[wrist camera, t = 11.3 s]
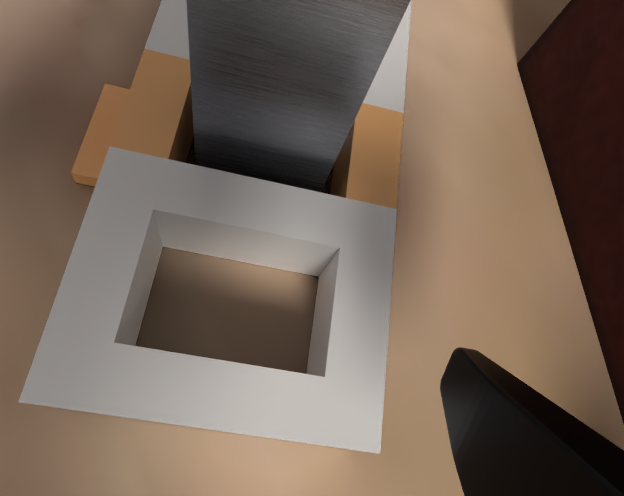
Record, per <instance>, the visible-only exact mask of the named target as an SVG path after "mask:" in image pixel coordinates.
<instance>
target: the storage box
mask: <svg viewBox="0 0 624 496" xmlns="http://www.w3.org/2000/svg"><path fill="white" fill-rule="evenodd" d="M517 66H518V71H519V74H520V77H521V81H522V84H523V87H524V91H525V94H526V97H527V101H528V104H529V107H530V111H531V114H532V118H533V121H534V124H535V128H536V131H537V134H538V138H539V141H540V144H541V148H542V151H543V154H544V158H545V161H546V165H547V168H548V171H549V175H550V178H551V181H552V185H553V188H554V191H555V195H556V198H557V201H558V205H559V208H560V212H561V215H562V218H563V222H564V225H565V228H566V232H567V235H568V238H569V242H570V245H571V248H572V252H573V255H574V259H575V262H576V265H577V269H578V272H579V275H580V279H581V282H582V285H583V289H584V292H585V295H586V299H587V302H588V306H589V309H590V312H591V316H592V319H593V322H594V326H595V329H596V332H597V336H598V339H599V342H600V346H601V349H602V353H603V356H604V359H605V363H606V366H607V369H608V373H609V376H610V379H611V383H612V386H613V389H614V393H615V396H616V400H617V403H618V406H619V410H620V413H621V416H622V420H623V423H624V0H571V1H570V2H569V3H568V4H567V6H566V7H565V8H564V9H563V10H562V12H561V13H560V14H559V15H558V16H557V17H556V19H555V20H554V21H553V22H552V23H551V25H550V26H549V27H548V28H547V29H546V31H545V32H544V33H543V34H542V35H541V36H540V38H539V39H538V40H537V41H536V42H535V44H534V45H533V46H532V47H531V48H530V50H529V51H528V52H527V53H526V54H525V55H524V57H523V58H522V59H521V60H520V61H519V63H518V64H517Z"/></svg>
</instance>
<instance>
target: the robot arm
mask: <svg viewBox="0 0 624 496" xmlns="http://www.w3.org/2000/svg"><path fill="white" fill-rule="evenodd" d="M440 391H441V397H442V402H443V407H444V413H445V418H446V423H447V428H448V434H449V439H450V444H451V449H452V454H453V458H454V462H455V465H456V469H457V472H458V476H459V479H460V482H461V486H462V489H463V492H464V496H624V451H623V450H622V449H620V448H619V447H618V446H616V445H615V444H613V443H612V442H610V441H609V440H607V439H606V438H604V437H603V436H601V435H600V434H598V433H597V432H596V431H594V430H593V429H591V428H590V427H588V426H587V425H585V424H584V423H582V422H581V421H579V420H578V419H577V418H575V417H574V416H572V415H571V414H569V413H568V412H566V411H565V410H563V409H562V408H560V407H559V406H558V405H556V404H555V403H553V402H552V401H550V400H549V399H547V398H546V397H544V396H543V395H541V394H540V393H539V392H537V391H536V390H534V389H533V388H531V387H530V386H528V385H527V384H525V383H524V382H522V381H521V380H519V379H518V378H517V377H515V376H514V375H512V374H511V373H509V372H508V371H506V370H505V369H503V368H502V367H500V366H499V365H498V364H496V363H495V362H493V361H492V360H490V359H489V358H487V357H486V356H484V355H483V354H481V353H480V352H478V351H477V350H473V349H467V348H462V347H459V348H457V349H455V350H454V351H453V353H452V355H451V358H450V360H449V362H448V365H447V367H446V369H445V372H444V374H443V377H442V379H441V384H440Z"/></svg>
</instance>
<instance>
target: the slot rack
mask: <svg viewBox="0 0 624 496" xmlns="http://www.w3.org/2000/svg"><path fill="white" fill-rule="evenodd" d="M410 13H411V1H410V3H409V5H408V7H407V9H406V11H405V13H404V16H403V18H402V20H401V22H400V24H399V26H398V28H397V31H396V33H395V35H394V37H393V39H392V41H391V43H390V45H389V48H388V50H387V52H386V54H385V56H384V58H383V60H382V63H381V65H380V67H379V69H378V71H377V73H376V75H375V77H374V80H373V82H372V84H371V86H370V88H369V90H368V92H367V95H366V97H365V99H364V101H363V103H362V105H361V107H360V110H359V112H358V114H357V116H356V118H355V120H354V122H353V124H352V127H351V129H350V131H349V133H348V135H347V137H346V139H345V142H344V144H343V146H342V148H341V150H340V152H339V154H338V156H337V159H336V161H335V163H334V168H333V175H332V183H331V190H330V194H326V193H321V192H316V191H312V190H307V189H303V188H298V187H294V186H289V185H284V184H280V183H275V182H271V181H266V180H262V179H257V178H252V177H248V176H243V175H239V174H234V173H230V172H225V171H220V170H216V169H211V168H207V167H202V166H198V165H193V164H188V163H186V161H187V158H188V154H189V150H190V147H191V143H192V140H193V136H194V130H193V112H192V93H191V75H190V57H189V38H188V20H187V2H186V0H161V3H160V6H159V9H158V12H157V14H156V17H155V20H154V23H153V26H152V28H151V31H150V34H149V37H148V40H147V42H146V45H145V48H144V51H143V54H142V56H141V59H140V62H139V65H138V68H137V70H136V73H135V76H134V79H133V82H132V84H131V87H130V89H126V88H122V87H118V86H114V85H109V84H105V85H104V87H103V90H102V92H101V95H100V98H99V100H98V103H97V105H96V108H95V110H94V113H93V116H92V118H91V121H90V123H89V126H88V129H87V131H86V134H85V136H84V139H83V142H82V144H81V147H80V149H79V152H78V155H77V157H76V160H75V162H74V165H73V168H72V170H71V175H72V177H73V178H74V180H75V182H76V183H80V184H85V185H90V186H95V188H94V191H93V194H92V197H91V199H90V202H89V205H88V208H87V211H86V213H85V216H84V219H83V222H82V225H81V227H80V230H79V233H78V236H77V239H76V241H75V244H74V247H73V250H72V253H71V255H70V258H69V261H68V264H67V267H66V270H65V272H64V275H63V278H62V281H61V284H60V286H59V289H58V292H57V295H56V298H55V300H54V303H53V306H52V309H51V312H50V314H49V317H48V320H47V323H46V326H45V328H44V331H43V334H42V337H41V340H40V342H39V345H38V348H37V351H36V354H35V356H34V359H33V362H32V365H31V368H30V370H29V373H28V376H27V379H26V382H25V384H24V387H23V390H22V393H21V396H20V398H19V401H18V402H20V403H27V404H34V405H41V406H48V407H55V408H62V409H69V410H76V411H83V412H90V413H97V414H104V415H111V416H118V417H125V418H132V419H139V420H146V421H153V422H160V423H167V424H174V425H181V426H188V427H195V428H202V429H210V430H217V431H224V432H231V433H238V434H245V435H252V436H259V437H266V438H273V439H280V440H287V441H294V442H301V443H308V444H315V445H322V446H329V447H336V448H343V449H350V450H357V451H364V452H371V453H378V454H380V449H381V434H382V420H383V405H384V390H385V376H386V361H387V347H388V332H389V318H390V303H391V289H392V274H393V260H394V245H395V231H396V216H397V202H398V187H399V172H400V158H401V143H402V129H403V114H404V100H405V85H406V71H407V56H408V42H409V27H410ZM163 247H168V248H173V249H178V250H183V251H188V252H193V253H199V254H204V255H209V256H214V257H219V258H225V259H230V260H235V261H240V262H245V263H250V264H256V265H261V266H266V267H271V268H276V269H281V270H287V271H292V272H297V273H302V274H307V275H313V276H318V277H319V281H318V288H317V296H316V303H315V311H314V318H313V326H312V333H311V341H310V348H309V356H308V363H307V371H306V374H304V373H298V372H291V371H285V370H279V369H273V368H267V367H261V366H255V365H249V364H242V363H236V362H230V361H224V360H218V359H212V358H206V357H200V356H193V355H187V354H181V353H175V352H169V351H163V350H157V349H151V348H144V347H138V346H136V342H137V338H138V335H139V331H140V327H141V324H142V320H143V317H144V313H145V309H146V306H147V302H148V299H149V295H150V291H151V288H152V284H153V281H154V277H155V273H156V270H157V266H158V262H159V259H160V255H161V252H162V248H163Z"/></svg>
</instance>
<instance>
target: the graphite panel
mask: <svg viewBox="0 0 624 496" xmlns="http://www.w3.org/2000/svg"><path fill="white" fill-rule="evenodd" d="M410 1H411V0H186V2H187V20H188V38H189V57H190V75H191V93H192V112H193V130H194V148H195V165H198V166H202V167H207V168H211V169H216V170H220V171H225V172H230V173H234V174H239V175H243V176H248V177H252V178H257V179H262V180H266V181H271V182H275V183H280V184H284V185H289V186H294V187H298V188H303V189H307V190H312V191H316V192H321V191H322V188H323V186H324V184H325V182H326V180H327V178H328V176H329V174H330V171H331V169H332V167H333V165H334V163H335V161H336V159H337V156H338V154H339V152H340V150H341V148H342V146H343V144H344V142H345V139H346V137H347V135H348V133H349V131H350V129H351V127H352V124H353V122H354V120H355V118H356V116H357V114H358V112H359V110H360V107H361V105H362V103H363V101H364V99H365V97H366V95H367V92H368V90H369V88H370V86H371V84H372V82H373V80H374V77H375V75H376V73H377V71H378V69H379V67H380V65H381V63H382V60H383V58H384V56H385V54H386V52H387V50H388V48H389V45H390V43H391V41H392V39H393V37H394V35H395V33H396V31H397V28H398V26H399V24H400V22H401V20H402V18H403V16H404V13H405V11H406V9H407V7H408V5H409V3H410Z"/></svg>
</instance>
